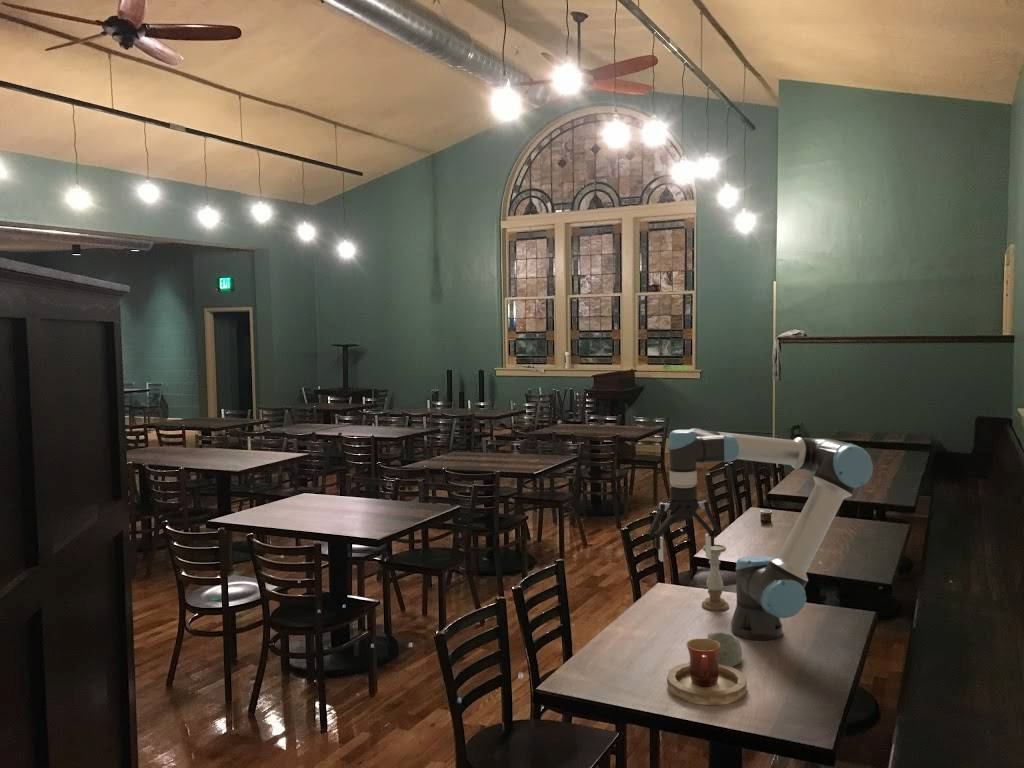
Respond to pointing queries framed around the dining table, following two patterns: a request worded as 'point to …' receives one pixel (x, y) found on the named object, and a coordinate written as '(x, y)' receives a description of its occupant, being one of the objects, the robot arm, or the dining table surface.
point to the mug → (704, 661)
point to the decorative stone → (727, 648)
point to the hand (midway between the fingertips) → (684, 559)
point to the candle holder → (715, 581)
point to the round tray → (721, 693)
